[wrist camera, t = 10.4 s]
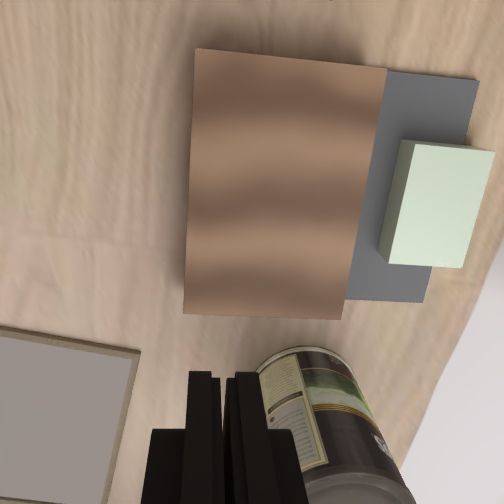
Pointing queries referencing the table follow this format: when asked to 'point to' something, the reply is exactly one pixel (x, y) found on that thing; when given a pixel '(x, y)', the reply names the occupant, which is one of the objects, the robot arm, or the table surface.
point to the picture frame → (61, 416)
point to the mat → (383, 166)
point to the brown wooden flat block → (276, 182)
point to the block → (433, 203)
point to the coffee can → (330, 428)
